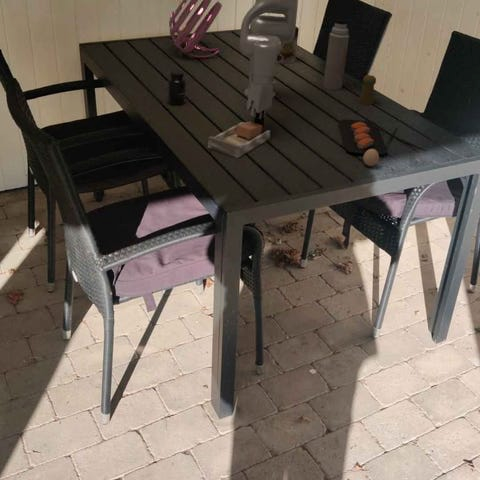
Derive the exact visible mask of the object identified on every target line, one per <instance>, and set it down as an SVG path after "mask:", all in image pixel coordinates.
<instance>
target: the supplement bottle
mask: <svg viewBox="0 0 480 480" xmlns="http://www.w3.org/2000/svg"><path fill="white" fill-rule="evenodd" d="M186 84H187V82H186V79H184V72H183V71H181V70H172V71H170V78H169V79H168V81H167V102H168V103H169V104H170V105H172V106H173V105H174V106H182V105H184V104H185V103H186V91H187V90H186V87H187V85H186Z"/></svg>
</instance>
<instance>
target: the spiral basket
mask: <svg viewBox="0 0 480 480" xmlns="http://www.w3.org/2000/svg"><path fill="white" fill-rule="evenodd" d="M198 1H199V0H189V2H188V0H181V2H180V4H179V5H178V7H177V8H176V9H175V11H172V13H171V14H170V16H169V21H168V23H169V25H168V26H169V36H170V37H171V39H172V41H173V43H174V46H175V47H176V48H177V49H179V50H180V51H181V52H182V53H183V54H184V55H186V56H189V57H192V58H196V59H206V58H211V57H213V56H216V55H217V54H219V53H220V52H221V47H217V48H207V47H203V46H201V45H199V42H200V41H201V40H202V38H203V37H204V36H205V34H206V33H207V31H208V30H209V28H210V27H211V25H212V24H213V22H215V20H216V18H217V16H218V14H219V13H220V11H221V9H222V7H223V5H222V2H220V1H216V2H215V3H214V5H212V6H211V8H210V9H209V10H208V12H207V13H206V15H205V16H204V17H203V15H204V13H205V12H206V10H207V9H208V7H209V6H210V4H211V3H212V0H202V1H201V3H200V4H199V5H198V6H197V8H196V9H195V11H194V12H193V13H192V14H191V17H190V18H188V16H190V13H191V12H192V10H193V9H194V7H195V6H196V4H197V3H198ZM187 2H188V4H187ZM186 4H187V5H186ZM185 5H186V7H185ZM183 7H185V8H184V9H183ZM182 9H183V10H182ZM181 11H182V13H180V12H181ZM179 13H180V15H179ZM178 15H179V17H178ZM177 17H178V18H177ZM202 17H203V19H202V20H201V18H202ZM176 18H177V20H176ZM187 18H188V20H187V21H186V19H187ZM200 20H201V22H200ZM185 21H186V23H185V25H184V27H182V25H183V24H184V22H185ZM198 22H200V23H199V24H198ZM197 24H198V26H197V27H196V29H195V30H194V32H193V33H192V35H191V36H190V38H188V37H189V35H190V34H191V32H192V31H193V29H194V28H195V26H196V25H197ZM181 27H182V29H181V30H180V28H181ZM175 34H177V38H176V37H175ZM183 43H185V46H184V47H182V44H183ZM194 49H195V50H198V51H202V52H214V53H211V54H208V55H196V54H193V53H191V52H192V51H193V50H194Z"/></svg>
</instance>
